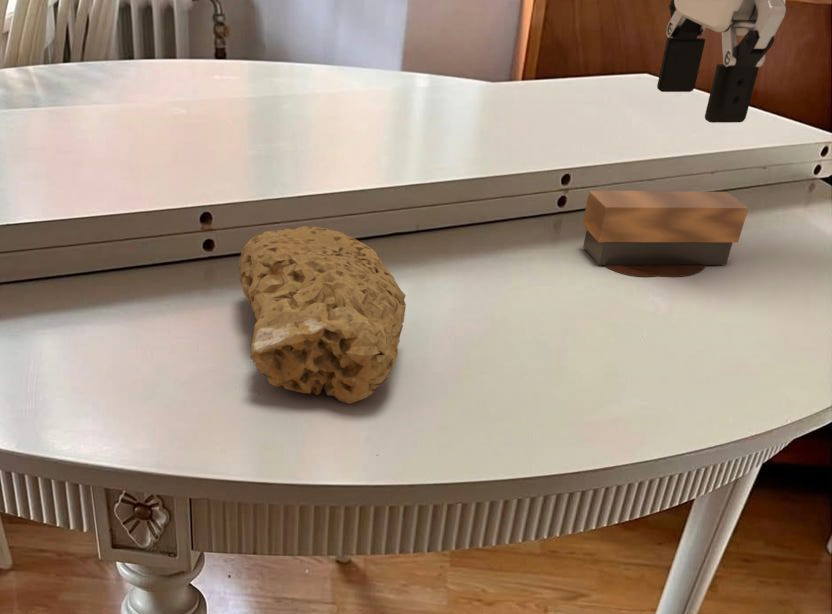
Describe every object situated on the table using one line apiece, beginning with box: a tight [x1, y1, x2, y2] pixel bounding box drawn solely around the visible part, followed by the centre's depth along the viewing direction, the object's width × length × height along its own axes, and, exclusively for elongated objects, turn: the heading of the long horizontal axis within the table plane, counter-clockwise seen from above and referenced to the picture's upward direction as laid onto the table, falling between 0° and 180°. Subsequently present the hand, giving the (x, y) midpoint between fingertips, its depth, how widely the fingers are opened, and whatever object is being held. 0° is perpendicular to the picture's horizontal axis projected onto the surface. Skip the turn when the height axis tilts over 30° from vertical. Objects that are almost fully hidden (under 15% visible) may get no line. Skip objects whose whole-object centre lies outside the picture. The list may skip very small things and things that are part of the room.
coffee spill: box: [603, 265, 706, 278], centre depth 90 cm, size 11×9×1 cm
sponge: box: [238, 225, 407, 405], centre depth 71 cm, size 13×8×20 cm
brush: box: [582, 190, 749, 266], centre depth 89 cm, size 13×4×5 cm, turn 98°
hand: (698, 105), depth 82 cm, fingers open, 9 cm apart
